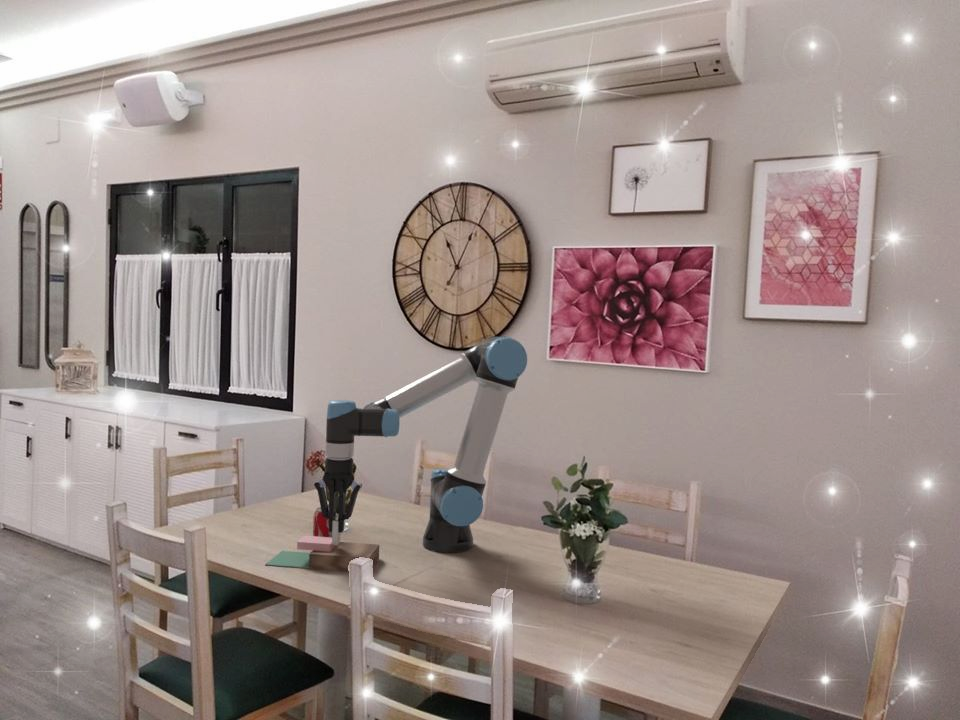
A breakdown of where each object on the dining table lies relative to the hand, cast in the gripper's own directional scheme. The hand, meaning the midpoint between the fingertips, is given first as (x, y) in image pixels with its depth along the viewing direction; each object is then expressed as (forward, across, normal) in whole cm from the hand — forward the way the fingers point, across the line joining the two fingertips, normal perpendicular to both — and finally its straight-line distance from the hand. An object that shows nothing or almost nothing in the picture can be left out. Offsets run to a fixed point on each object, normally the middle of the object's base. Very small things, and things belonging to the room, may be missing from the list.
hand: (335, 543), depth 194 cm
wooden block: (+5, -3, 0) cm, 6 cm away
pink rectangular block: (+1, +5, 0) cm, 5 cm away
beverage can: (+6, +6, -10) cm, 13 cm away
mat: (+5, +11, 0) cm, 13 cm away
